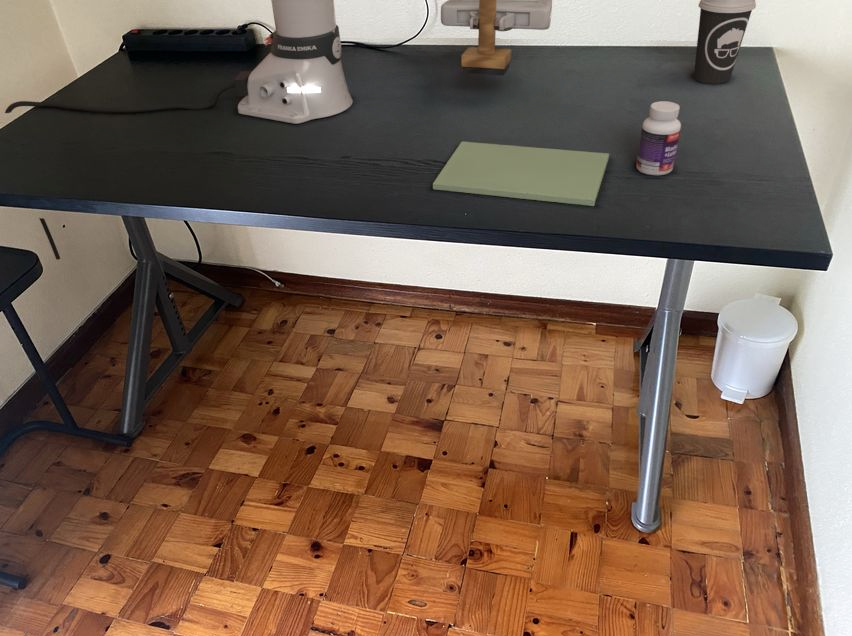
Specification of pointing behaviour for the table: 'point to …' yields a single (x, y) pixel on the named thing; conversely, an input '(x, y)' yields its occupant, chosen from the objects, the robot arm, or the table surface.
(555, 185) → the mat
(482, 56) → the scrub brush
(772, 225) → the table surface
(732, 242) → the table surface
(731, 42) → the coffee cup
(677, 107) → the pill bottle
